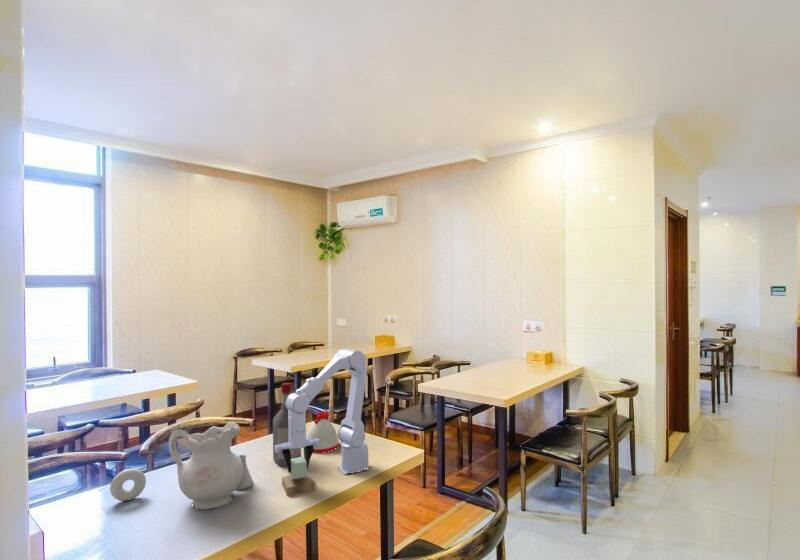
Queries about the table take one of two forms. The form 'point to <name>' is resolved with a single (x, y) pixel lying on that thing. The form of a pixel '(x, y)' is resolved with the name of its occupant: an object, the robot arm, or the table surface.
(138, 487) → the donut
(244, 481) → the flask
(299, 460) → the sage cube
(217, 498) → the ceramic pitcher
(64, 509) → the table surface
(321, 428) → the white bell
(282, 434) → the liquor
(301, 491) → the walnut base
